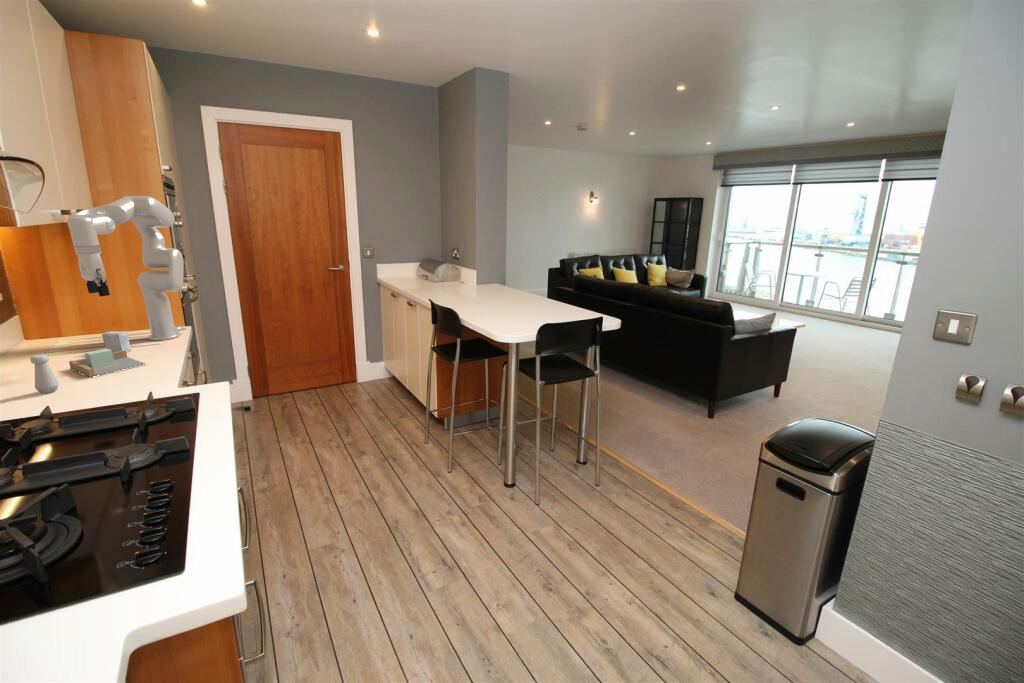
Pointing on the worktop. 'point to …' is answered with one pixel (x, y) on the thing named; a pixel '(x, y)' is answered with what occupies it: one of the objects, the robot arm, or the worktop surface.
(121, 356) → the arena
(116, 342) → the medicine box
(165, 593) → the worktop surface
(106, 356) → the green block
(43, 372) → the salt shaker
